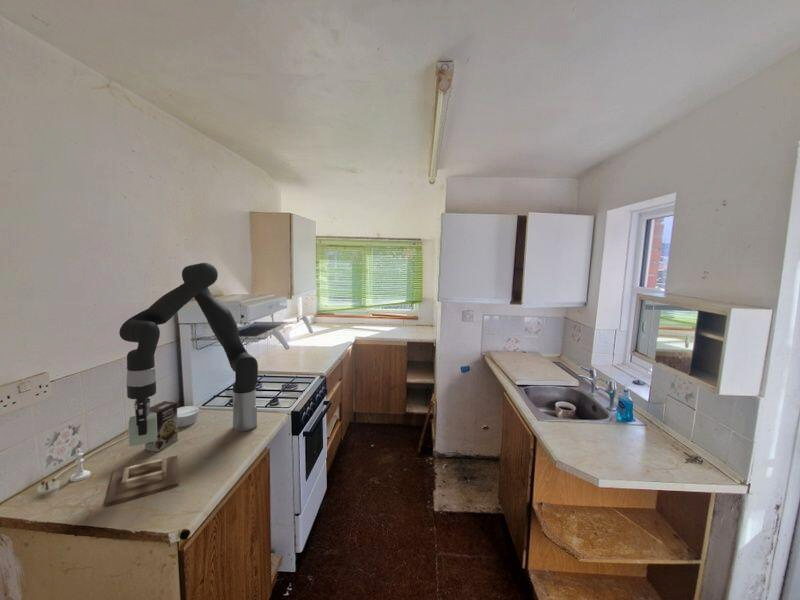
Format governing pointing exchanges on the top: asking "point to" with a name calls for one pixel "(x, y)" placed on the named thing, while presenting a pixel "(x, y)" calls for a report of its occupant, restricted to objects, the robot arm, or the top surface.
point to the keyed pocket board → (143, 479)
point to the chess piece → (79, 468)
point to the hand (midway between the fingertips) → (143, 430)
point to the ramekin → (187, 415)
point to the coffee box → (164, 425)
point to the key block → (151, 430)
